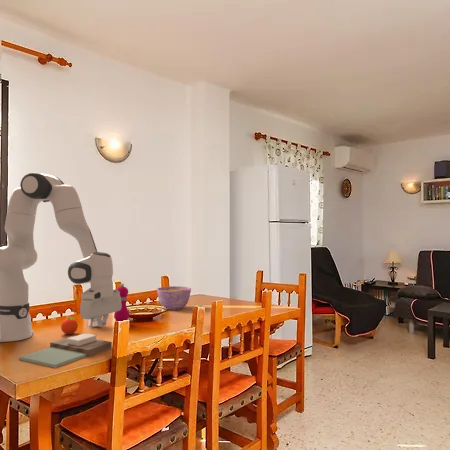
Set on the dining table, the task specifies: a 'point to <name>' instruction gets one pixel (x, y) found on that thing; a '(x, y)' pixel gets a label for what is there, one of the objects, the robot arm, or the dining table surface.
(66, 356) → the mat
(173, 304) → the bowl of food
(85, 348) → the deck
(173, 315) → the dining table surface
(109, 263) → the robot arm
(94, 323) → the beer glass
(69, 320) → the tomato
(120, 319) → the pepper mill
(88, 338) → the white rectangular block
